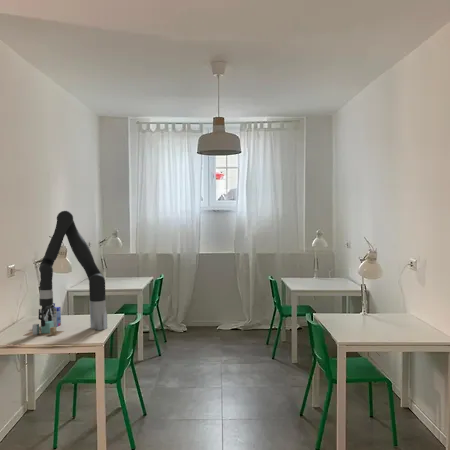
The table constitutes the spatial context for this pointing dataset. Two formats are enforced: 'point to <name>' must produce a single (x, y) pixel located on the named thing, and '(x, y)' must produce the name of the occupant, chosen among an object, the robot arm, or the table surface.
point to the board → (42, 334)
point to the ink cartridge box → (56, 316)
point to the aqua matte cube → (47, 326)
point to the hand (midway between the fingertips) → (46, 324)
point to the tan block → (53, 331)
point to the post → (35, 329)
